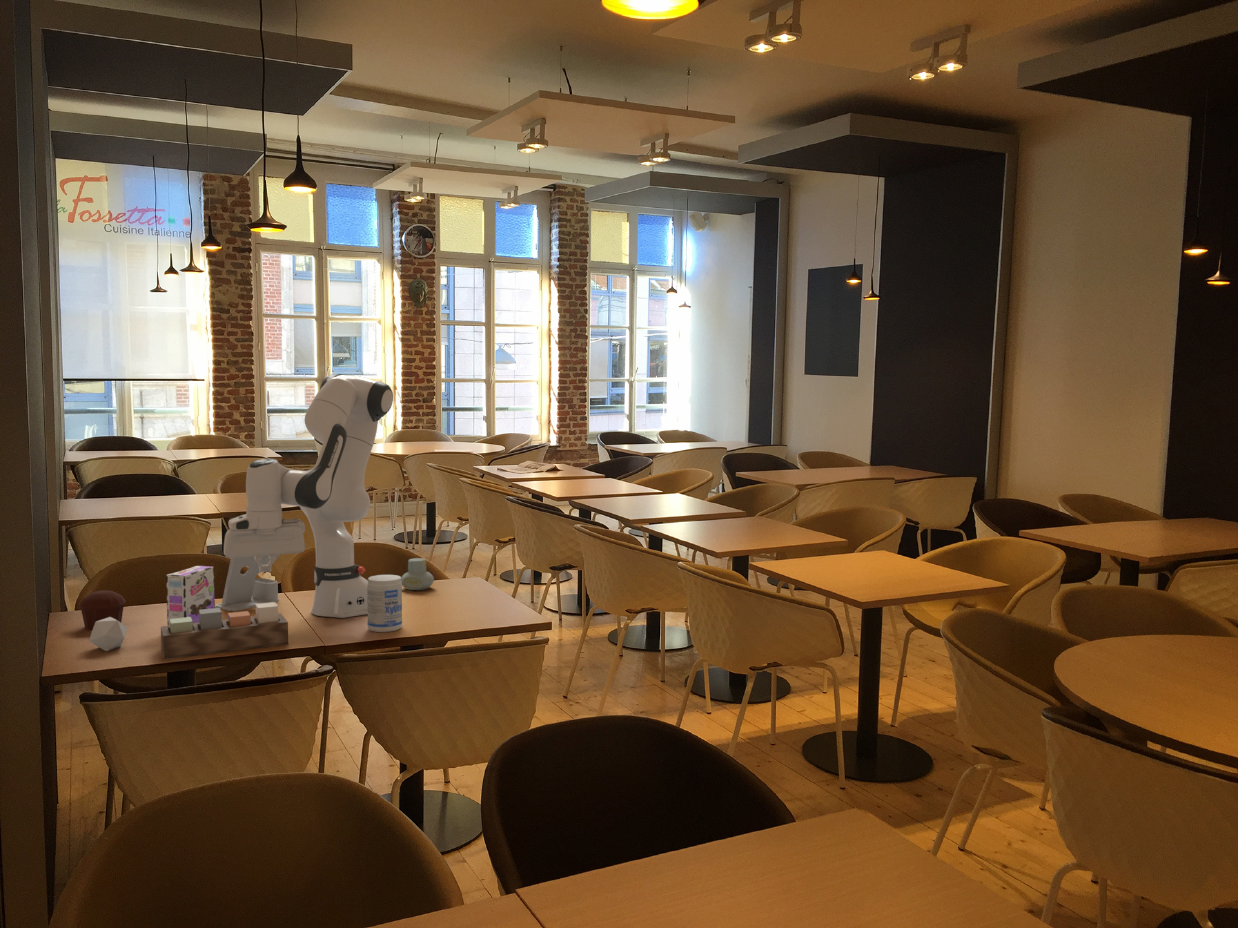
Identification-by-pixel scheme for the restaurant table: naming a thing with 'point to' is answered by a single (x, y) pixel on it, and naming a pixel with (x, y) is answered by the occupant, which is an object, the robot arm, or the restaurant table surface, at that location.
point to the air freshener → (417, 575)
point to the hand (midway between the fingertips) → (265, 571)
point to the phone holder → (247, 585)
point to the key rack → (223, 638)
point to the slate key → (210, 618)
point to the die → (108, 634)
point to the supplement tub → (384, 603)
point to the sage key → (181, 625)
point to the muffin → (101, 607)
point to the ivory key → (266, 612)
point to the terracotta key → (239, 618)
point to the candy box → (190, 592)
